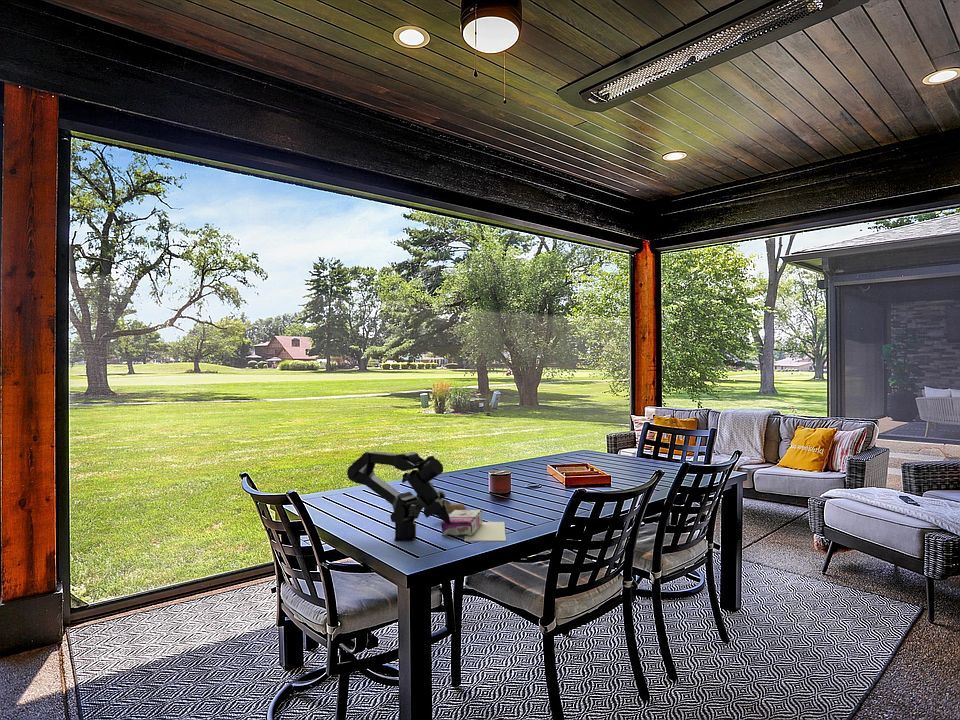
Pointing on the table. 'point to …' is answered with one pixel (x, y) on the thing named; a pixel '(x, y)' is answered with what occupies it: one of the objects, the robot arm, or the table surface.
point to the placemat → (488, 532)
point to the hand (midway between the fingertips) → (449, 523)
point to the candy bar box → (462, 522)
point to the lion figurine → (453, 506)
